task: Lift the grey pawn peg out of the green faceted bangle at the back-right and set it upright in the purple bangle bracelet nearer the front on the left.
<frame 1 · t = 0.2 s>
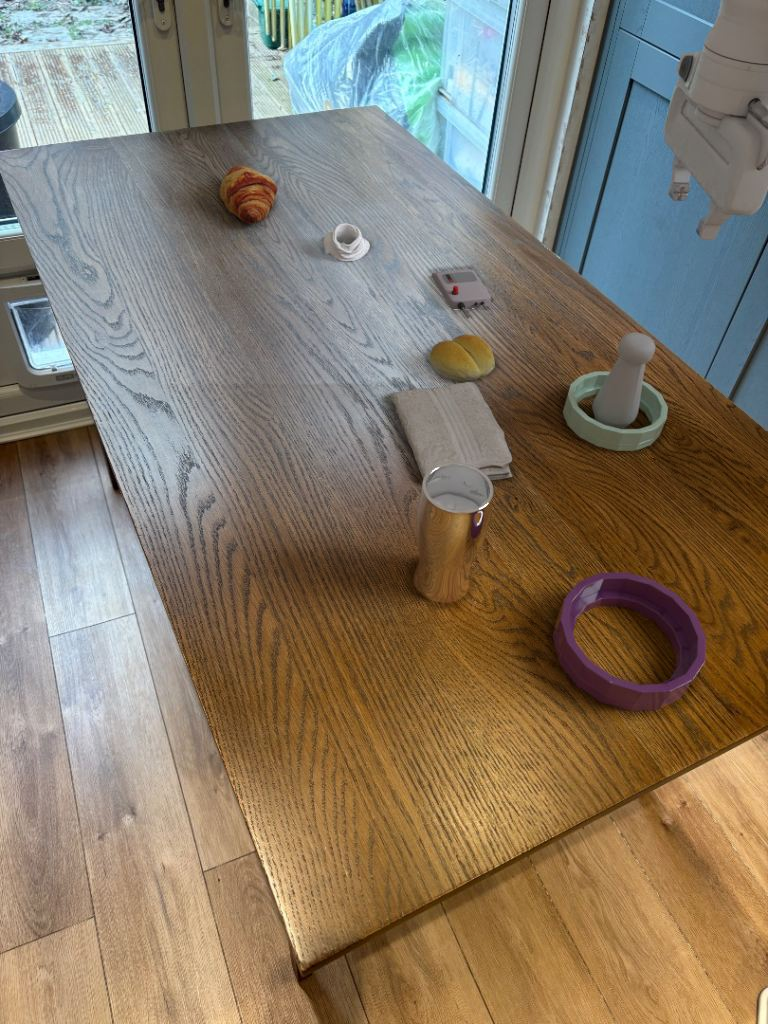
hand: (689, 217, 85), 26 cm above the table, tool pointing down, fingers open, 8 cm apart
grey electronic control box: (462, 296, 120), on the table
green faceted bangle: (609, 424, 99), on the table
washcloth: (448, 442, 95), on the table
bread roll: (461, 367, 107), on the table
grey pawn peg: (609, 424, 99), resting on green faceted bangle
purple bangle bracelet: (619, 653, 75), on the table
croissant: (250, 206, 137), on the table
shiny metal tumbler: (440, 587, 80), on the table
white ruffled cup: (346, 253, 127), on the table
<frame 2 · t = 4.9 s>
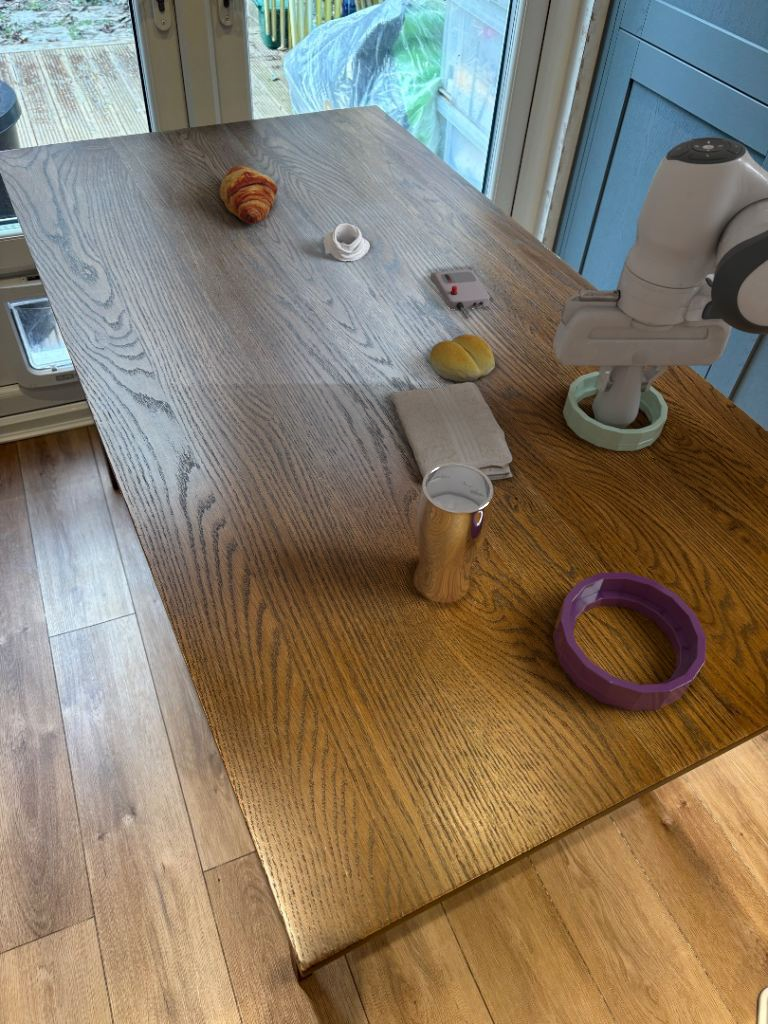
hand: (622, 389, 95), 6 cm above the table, tool pointing down, fingers closed on grey pawn peg, 3 cm apart
grey pawn peg: (609, 423, 99), resting on green faceted bangle, touching gripper
everything else where it was.
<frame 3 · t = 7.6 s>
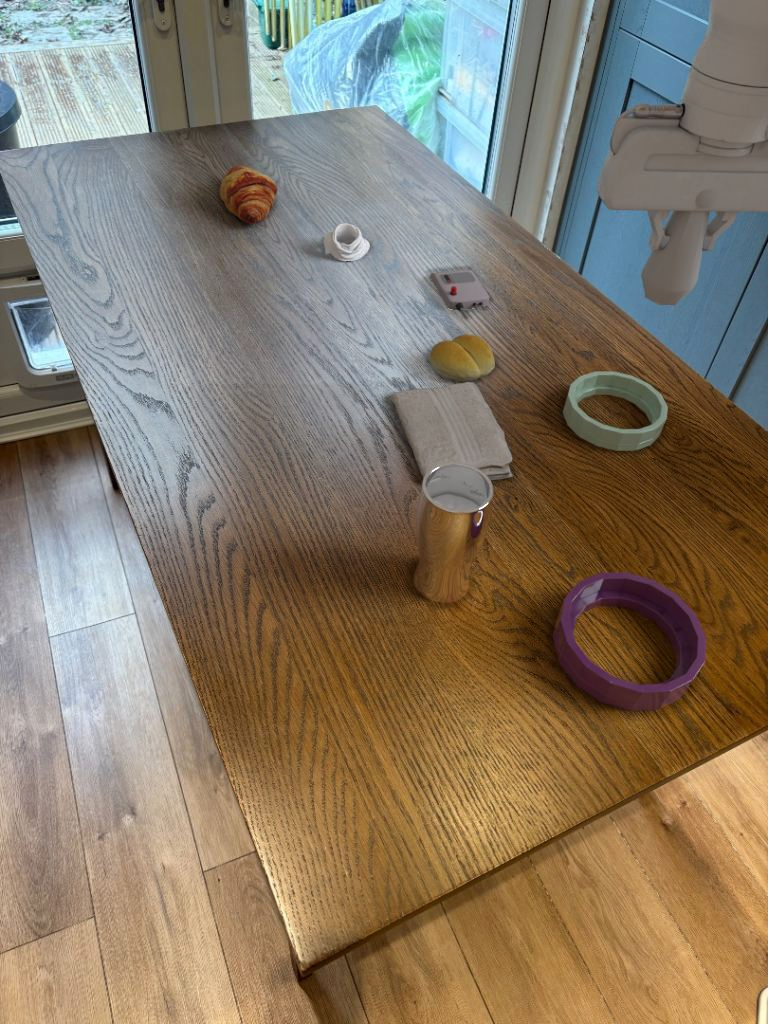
hand: (679, 248, 78), 26 cm above the table, tool pointing down, fingers closed on grey pawn peg, 3 cm apart
grey pawn peg: (661, 297, 83), point 20 cm above the table, touching gripper
everything else where it was.
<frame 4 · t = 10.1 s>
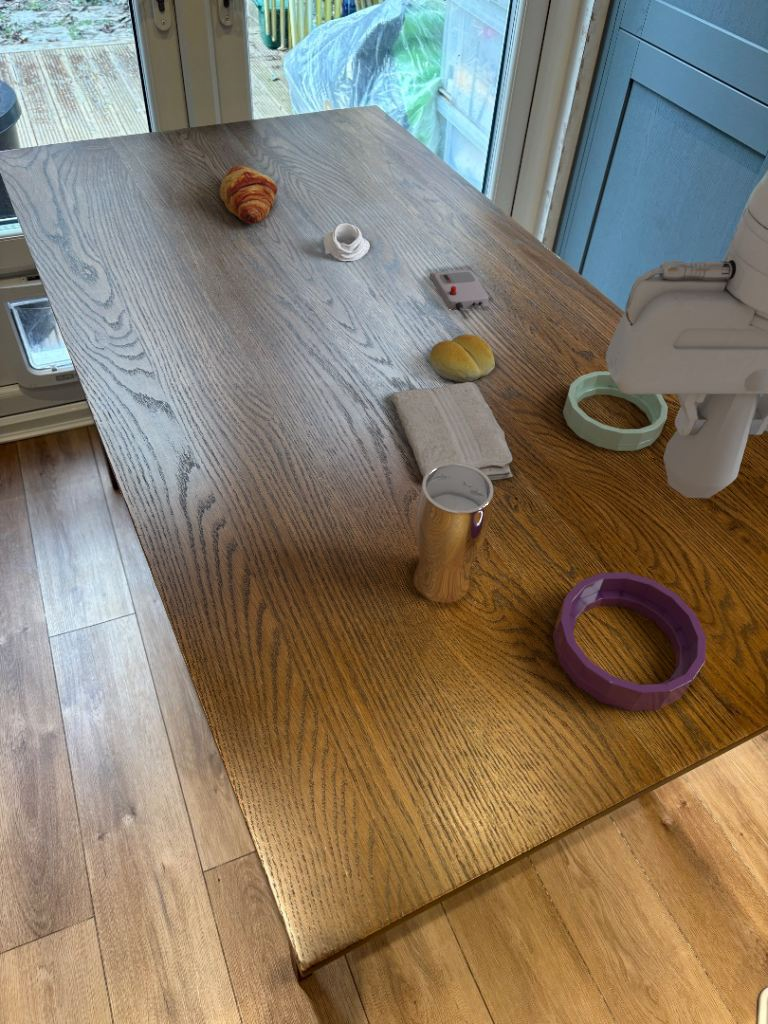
hand: (717, 430, 57), 27 cm above the table, tool pointing down, fingers closed on grey pawn peg, 3 cm apart
grey pawn peg: (690, 483, 62), point 21 cm above the table, touching gripper
everything else where it was.
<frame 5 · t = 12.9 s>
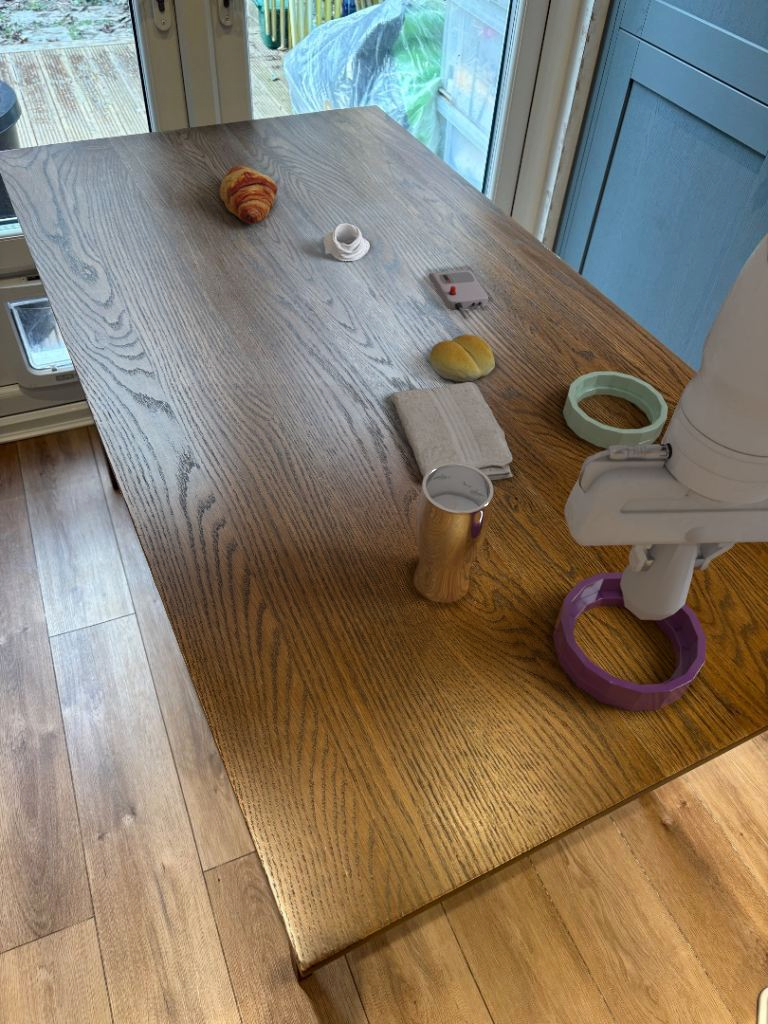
hand: (665, 565, 65), 14 cm above the table, tool pointing down, fingers closed on grey pawn peg, 3 cm apart
grey pawn peg: (644, 604, 69), point 8 cm above the table, touching gripper
everything else where it was.
when the fingers open (6 cm above the table, at t = 15.1 s): grey pawn peg stays where it is, resting on purple bangle bracelet.
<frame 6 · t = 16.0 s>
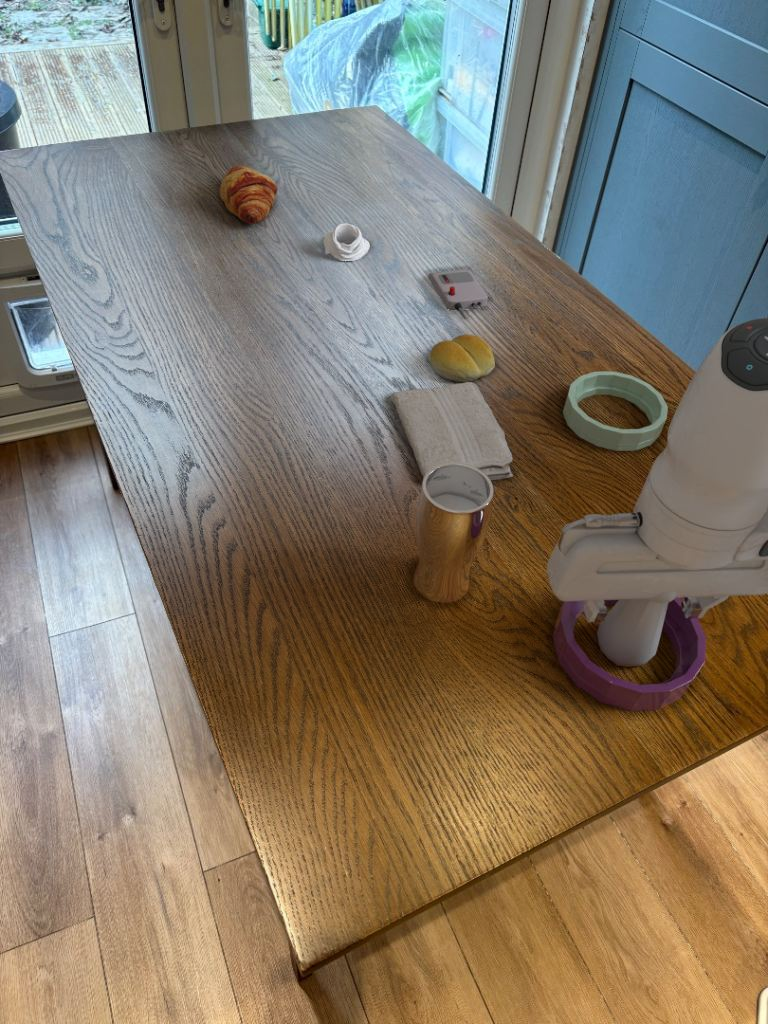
hand: (641, 614, 70), 7 cm above the table, tool pointing down, fingers open, 8 cm apart
grey pawn peg: (620, 652, 75), resting on purple bangle bracelet
everything else where it was.
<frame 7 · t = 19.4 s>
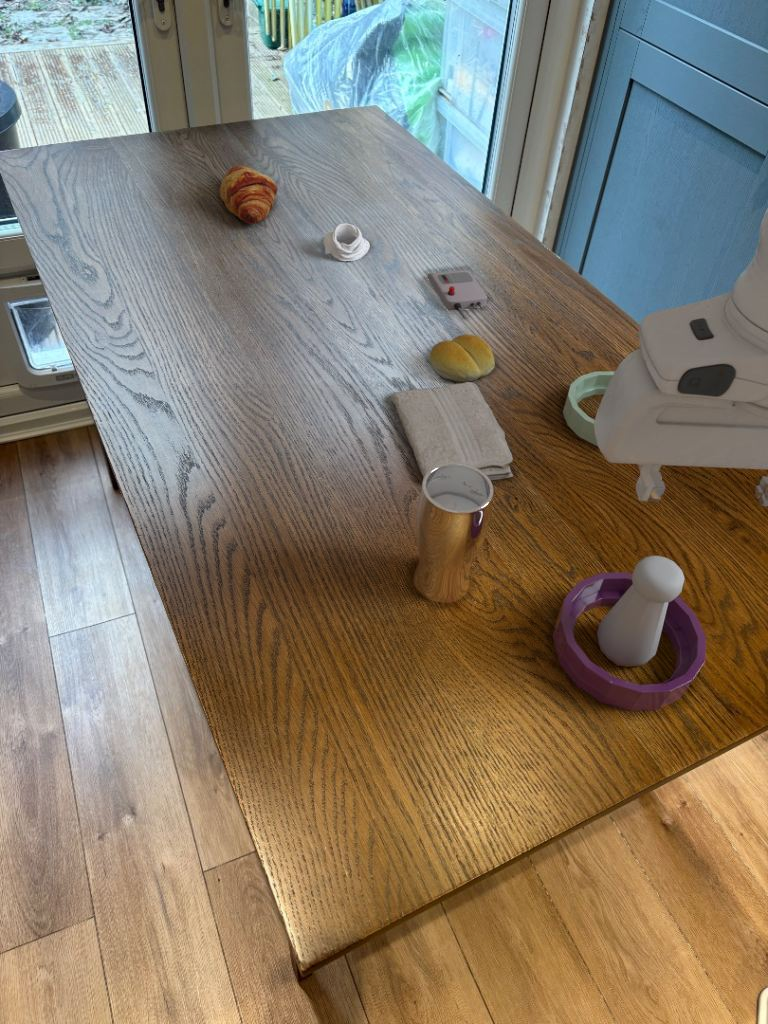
hand: (706, 498, 58), 23 cm above the table, tool pointing down, fingers open, 8 cm apart
nothing on the table moved.
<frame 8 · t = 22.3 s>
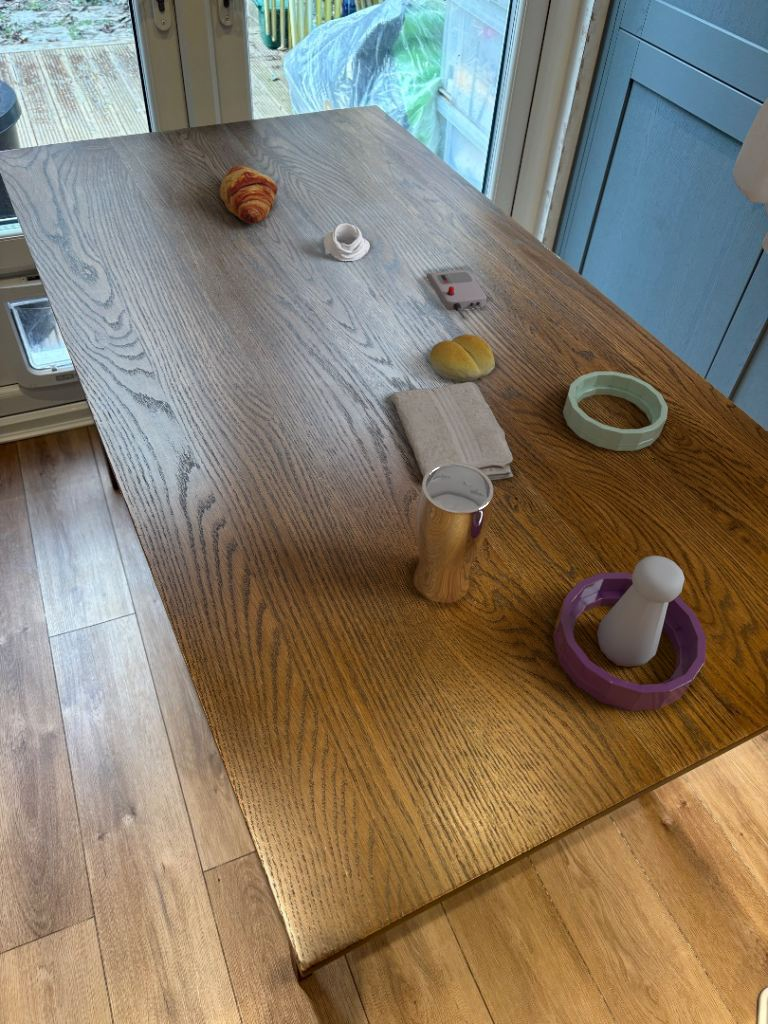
nothing on the table moved.
at the end: grey pawn peg 0.1 cm off-centre in the purple bangle bracelet, point 0.1 cm above the purple bangle bracelet's base; grey pawn peg tilted 0° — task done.
